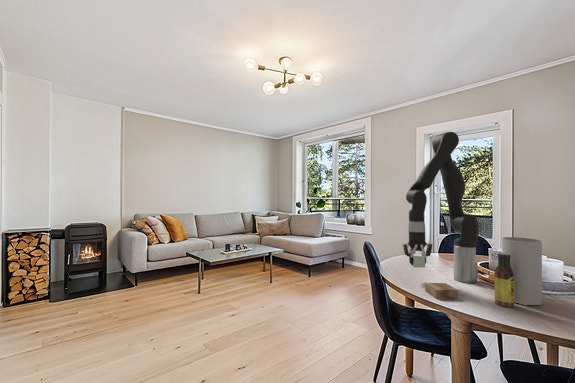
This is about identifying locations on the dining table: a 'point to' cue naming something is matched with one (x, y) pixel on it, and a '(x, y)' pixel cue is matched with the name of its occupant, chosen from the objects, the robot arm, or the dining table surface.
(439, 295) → the walnut base
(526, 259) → the cylinder vase
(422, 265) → the green cube
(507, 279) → the sauce bottle
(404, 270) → the dining table surface
